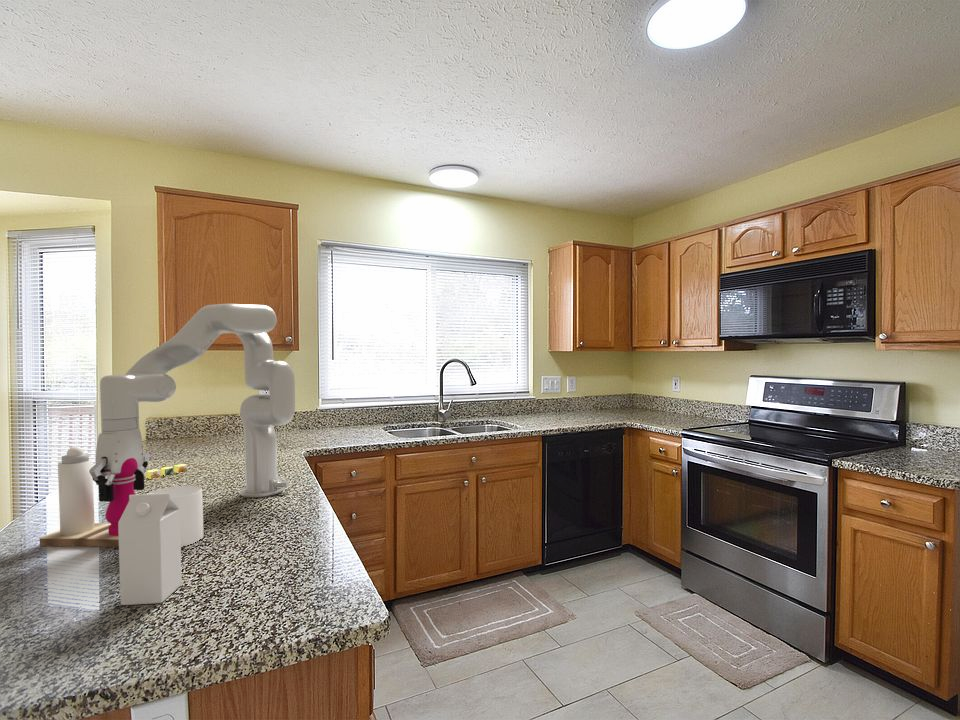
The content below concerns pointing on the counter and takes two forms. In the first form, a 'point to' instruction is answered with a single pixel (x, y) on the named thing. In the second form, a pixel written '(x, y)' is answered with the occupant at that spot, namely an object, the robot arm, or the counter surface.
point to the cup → (187, 511)
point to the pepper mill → (121, 494)
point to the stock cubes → (165, 471)
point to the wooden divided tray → (82, 538)
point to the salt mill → (76, 492)
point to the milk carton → (149, 549)
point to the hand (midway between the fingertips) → (122, 495)
